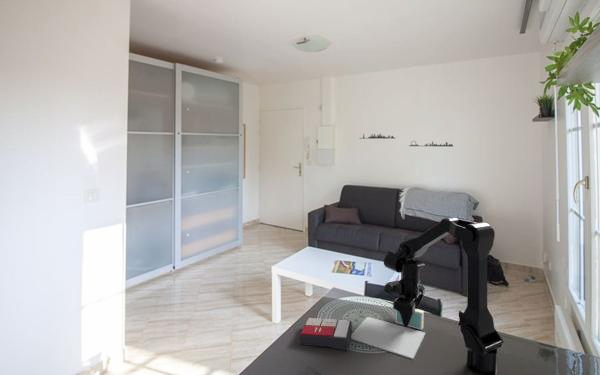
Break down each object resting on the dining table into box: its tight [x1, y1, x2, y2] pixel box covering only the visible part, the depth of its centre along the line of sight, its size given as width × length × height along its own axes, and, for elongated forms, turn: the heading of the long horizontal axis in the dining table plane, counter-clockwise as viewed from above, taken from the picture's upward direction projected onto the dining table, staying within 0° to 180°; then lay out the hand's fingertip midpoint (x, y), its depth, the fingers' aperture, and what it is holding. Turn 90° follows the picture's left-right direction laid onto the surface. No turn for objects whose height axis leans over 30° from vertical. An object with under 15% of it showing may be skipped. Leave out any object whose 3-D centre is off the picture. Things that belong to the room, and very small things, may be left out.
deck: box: [394, 308, 425, 331], centre depth 111 cm, size 9×2×6 cm, turn 57°
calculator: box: [299, 317, 353, 351], centre depth 103 cm, size 11×4×15 cm
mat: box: [350, 316, 426, 360], centre depth 104 cm, size 20×16×1 cm
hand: (409, 320), depth 111 cm, fingers open, 9 cm apart
